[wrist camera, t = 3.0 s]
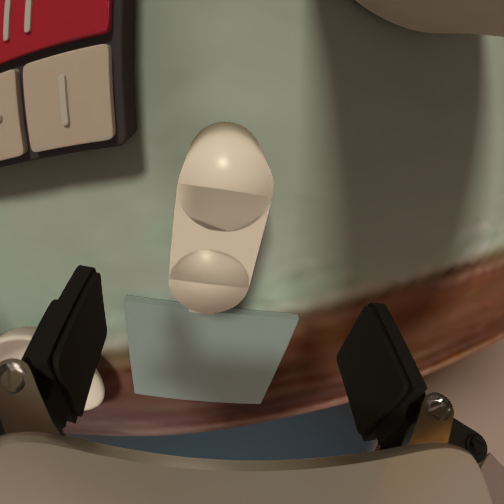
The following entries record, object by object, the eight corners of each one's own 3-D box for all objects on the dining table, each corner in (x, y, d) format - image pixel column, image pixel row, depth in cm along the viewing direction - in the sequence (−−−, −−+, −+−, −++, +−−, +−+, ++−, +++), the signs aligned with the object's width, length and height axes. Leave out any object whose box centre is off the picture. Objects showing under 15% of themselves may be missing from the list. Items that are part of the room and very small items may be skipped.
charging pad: (126, 295, 22) (124, 300, 21) (297, 313, 24) (298, 319, 24) (135, 388, 29) (134, 393, 28) (259, 399, 31) (260, 403, 30)
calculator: (123, 150, 13) (-73, 191, 11) (140, 131, 17) (-39, 167, 15) (124, -65, 7) (-88, 35, 5) (141, -40, 11) (-50, 31, 9)
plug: (194, 116, 16) (184, 136, 12) (267, 129, 16) (283, 153, 12) (174, 279, 21) (166, 333, 17) (231, 286, 22) (234, 340, 18)
